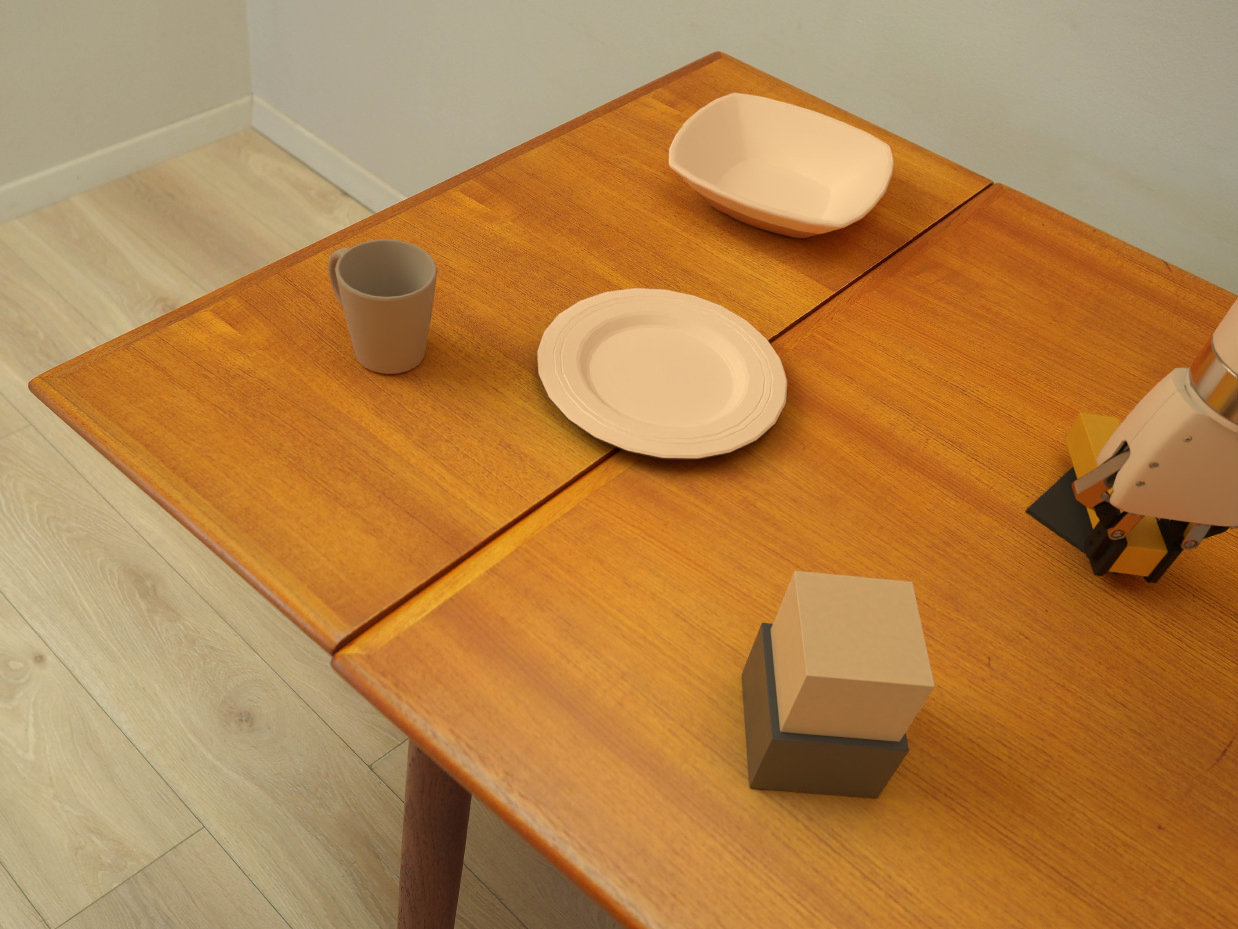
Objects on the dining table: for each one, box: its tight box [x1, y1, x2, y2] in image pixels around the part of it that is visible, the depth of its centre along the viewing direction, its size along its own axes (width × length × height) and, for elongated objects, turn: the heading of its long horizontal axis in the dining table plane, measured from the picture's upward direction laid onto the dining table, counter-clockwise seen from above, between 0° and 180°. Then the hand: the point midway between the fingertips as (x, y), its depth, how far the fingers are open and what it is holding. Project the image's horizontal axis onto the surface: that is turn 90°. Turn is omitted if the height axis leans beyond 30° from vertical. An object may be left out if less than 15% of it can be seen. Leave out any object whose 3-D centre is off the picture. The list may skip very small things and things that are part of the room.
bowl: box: [668, 92, 895, 239], centre depth 108 cm, size 22×22×5 cm
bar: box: [1064, 411, 1168, 577], centre depth 81 cm, size 14×3×3 cm, turn 176°
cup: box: [327, 238, 438, 375], centre depth 83 cm, size 8×10×8 cm
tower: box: [741, 570, 936, 799], centre depth 62 cm, size 8×8×12 cm
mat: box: [1025, 465, 1161, 576], centre depth 83 cm, size 8×8×1 cm
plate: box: [536, 287, 788, 461], centre depth 87 cm, size 21×21×2 cm
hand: (1119, 563), depth 78 cm, fingers closed on bar, 3 cm apart
